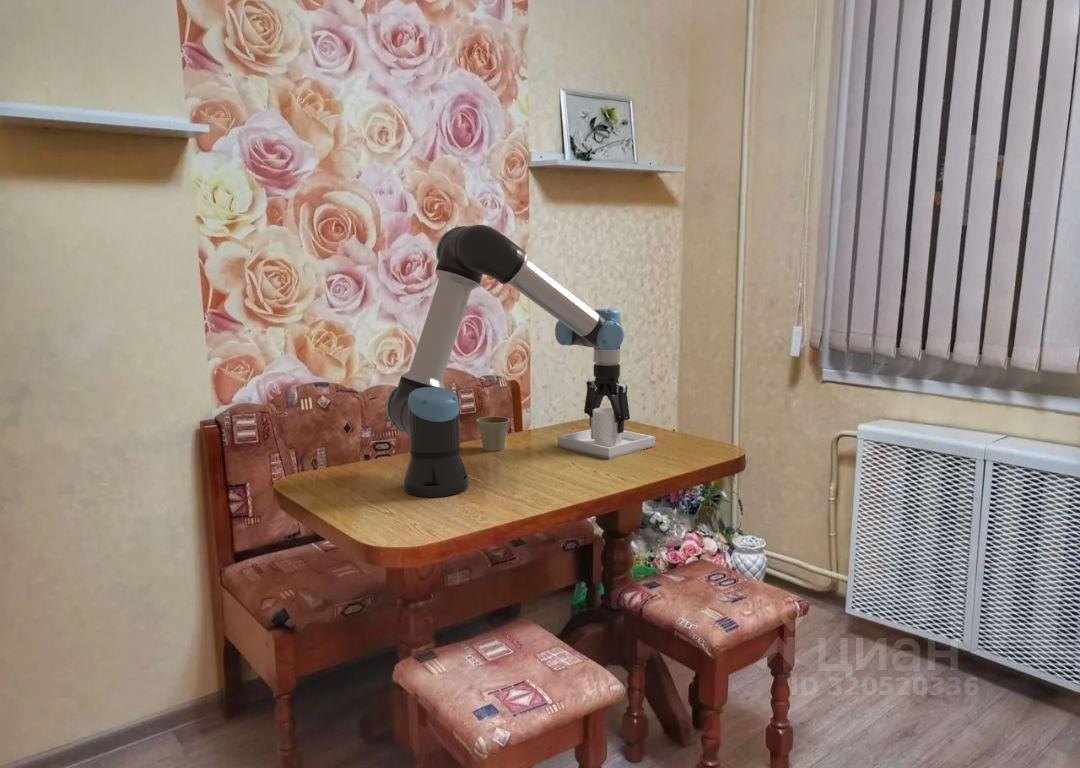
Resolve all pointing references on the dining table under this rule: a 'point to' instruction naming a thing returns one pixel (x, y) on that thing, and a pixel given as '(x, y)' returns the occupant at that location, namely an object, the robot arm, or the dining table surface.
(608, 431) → the white cup
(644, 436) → the tray
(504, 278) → the robot arm
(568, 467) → the dining table surface
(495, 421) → the flower pot
